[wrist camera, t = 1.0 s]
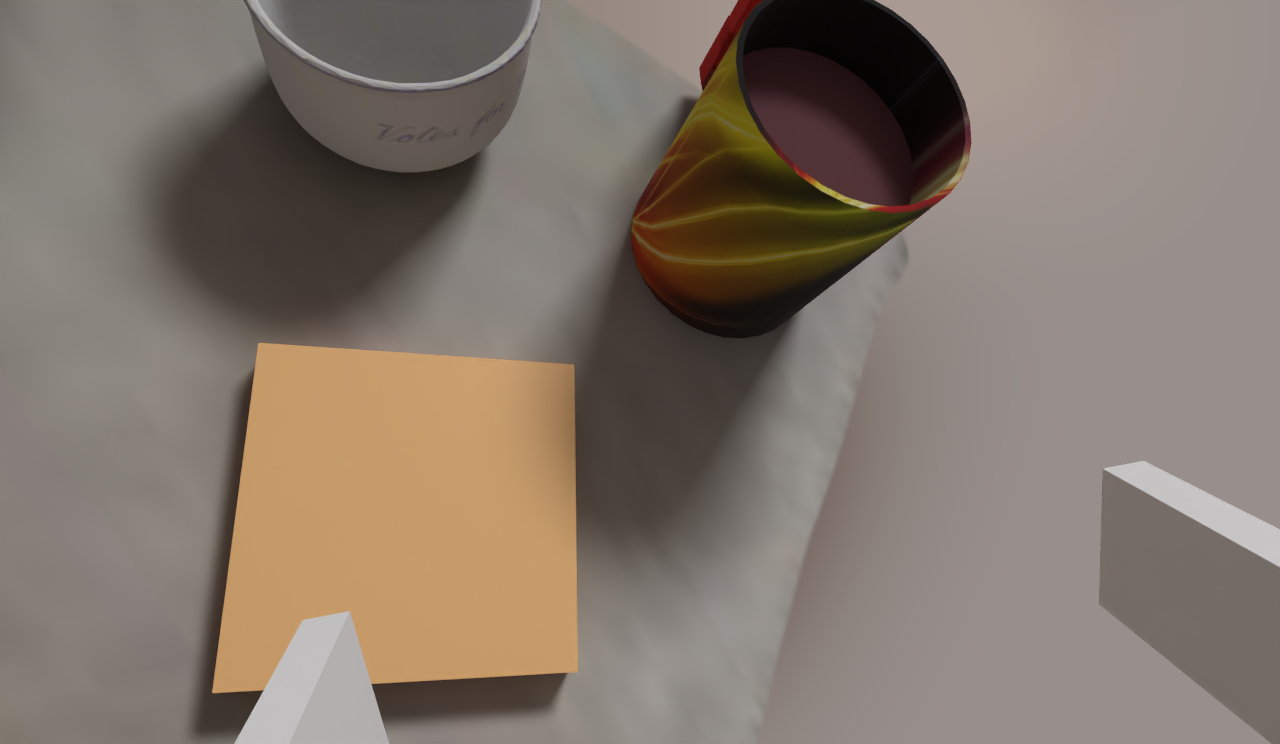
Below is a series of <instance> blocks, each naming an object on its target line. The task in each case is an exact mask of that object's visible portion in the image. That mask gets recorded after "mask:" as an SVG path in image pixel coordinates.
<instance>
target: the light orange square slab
mask: <svg viewBox="0 0 1280 744" xmlns="http://www.w3.org/2000/svg"><path fill="white" fill-rule="evenodd" d="M347 611H350V613H351V617H352V620H353V624H354V627H355V630H356V634H357V637H358V641H359V644H360V647H361V651H362V654H363V657H364V661H365V664H366V668H367V671H368V674H369V678H370V681H371V684H380V683H397V682H414V681H431V680H449V679H466V678H483V677H500V676H517V675H535V674H552V673H569V672H578V645H577V551H576V457H575V365H574V364H560V363H545V362H531V361H516V360H502V359H487V358H473V357H458V356H443V355H429V354H414V353H400V352H385V351H371V350H356V349H342V348H327V347H312V346H298V345H283V344H269V343H258V349H257V357H256V364H255V372H254V379H253V387H252V394H251V402H250V410H249V417H248V425H247V432H246V440H245V447H244V455H243V463H242V470H241V478H240V485H239V493H238V501H237V508H236V516H235V523H234V531H233V538H232V546H231V554H230V561H229V569H228V576H227V584H226V591H225V599H224V607H223V614H222V622H221V629H220V637H219V645H218V652H217V660H216V667H215V675H214V682H213V690H212V693H225V692H242V691H259V690H264V689H265V687H266V685H267V684H268V682H269V680H270V678H271V676H272V675H273V673H274V671H275V669H276V667H277V666H278V664H279V662H280V660H281V658H282V657H283V655H284V653H285V651H286V649H287V647H288V646H289V644H290V642H291V640H292V638H293V637H294V635H295V633H296V631H297V629H298V628H299V626H300V624H301V622H302V620H305V619H310V618H316V617H321V616H326V615H331V614H337V613H342V612H347Z"/></svg>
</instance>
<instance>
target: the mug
mask: <svg viewBox="0 0 1280 744" xmlns="http://www.w3.org/2000/svg"><path fill="white" fill-rule="evenodd" d="M700 78H701V85H702V90H703V92H702V94H701V96H700V97H699V99H698V101H697V102H696V104H695V106H694V108H693V109H692V111H691V113H690V114H689V116H688V118H687V119H686V121H685V123H684V124H683V126H682V128H681V130H680V131H679V133H678V135H677V136H676V138H675V140H674V141H673V143H672V145H671V147H670V148H669V150H668V152H667V153H666V155H665V157H664V158H663V160H662V162H661V163H660V165H659V167H658V169H657V170H656V172H655V174H654V175H653V177H652V179H651V180H650V182H649V184H648V186H647V187H646V189H645V191H644V192H643V194H642V196H641V197H640V199H639V201H638V204H637V206H636V209H635V212H634V214H633V221H632V228H631V237H632V249H633V253H634V256H635V260H636V263H637V267H638V269H639V271H640V273H641V275H642V277H643V279H644V281H645V283H646V285H647V286H648V287H649V289H650V290H651V291H652V293H653V294H654V295H655V297H656V298H657V300H658V301H659V302H660V303H662V304H663V305H664V306H665V307H666V308H667V309H668V310H669V311H670V312H671V313H672V314H673V315H675V316H676V317H678V318H679V319H681V320H682V321H684V322H685V323H687V324H688V325H690V326H692V327H695V328H697V329H699V330H701V331H704V332H706V333H709V334H713V335H717V336H722V337H730V338H746V337H752V336H758V335H761V334H764V333H766V332H769V331H771V330H774V329H775V328H777V327H778V326H779V325H781V324H782V323H784V322H785V321H786V320H788V319H789V318H790V317H792V316H793V315H794V314H795V313H797V312H798V311H799V310H801V309H802V308H803V307H804V306H806V305H807V304H808V303H810V302H811V301H812V300H813V299H815V298H816V297H817V296H819V295H820V294H821V293H822V292H824V291H825V290H826V289H828V288H829V287H830V286H831V285H833V284H834V283H835V282H837V281H838V280H839V279H840V278H842V277H843V276H844V275H846V274H847V273H848V272H849V271H851V270H852V269H853V268H855V267H856V266H857V265H858V264H860V263H861V262H862V261H863V260H865V259H866V258H867V257H869V256H870V255H871V254H872V253H874V252H875V251H876V250H878V249H879V248H880V247H881V246H883V245H884V244H885V243H887V242H888V241H889V240H890V239H892V238H893V237H894V236H896V235H897V234H898V233H899V232H901V231H902V230H903V229H905V228H906V227H907V226H908V225H910V224H911V223H912V222H914V221H915V220H916V219H917V218H919V217H920V216H921V215H923V214H924V213H925V212H926V211H927V210H929V209H930V208H931V207H933V206H934V205H935V204H937V203H938V202H939V201H941V200H942V199H943V198H944V197H946V196H947V195H948V194H949V193H950V192H951V191H952V190H953V188H954V187H955V186H956V185H957V184H958V182H959V181H960V180H961V178H962V175H963V173H964V171H965V168H966V166H967V163H968V160H969V154H970V148H971V132H970V131H971V130H970V120H969V116H968V112H967V108H966V104H965V101H964V98H963V96H962V93H961V91H960V89H959V86H958V84H957V82H956V80H955V78H954V76H953V75H952V73H951V71H950V70H949V68H948V66H947V65H946V63H945V62H944V60H943V59H942V57H941V56H940V55H939V54H938V52H937V51H936V50H935V49H934V48H933V46H932V45H931V44H930V43H929V41H928V40H927V39H926V38H925V37H923V36H922V35H921V34H920V33H919V32H918V31H917V30H916V29H915V28H914V27H913V26H912V25H911V24H910V23H908V22H907V21H906V20H904V19H903V18H902V17H900V16H899V15H897V14H896V13H895V12H894V11H892V10H891V9H889V8H887V7H885V6H884V5H882V4H880V3H878V2H876V1H874V0H738V2H737V4H736V6H735V7H734V9H733V11H732V13H731V15H730V16H728V18H727V19H726V21H725V23H724V25H723V27H722V28H721V31H720V32H719V34H718V35H717V37H716V39H715V41H714V43H713V44H712V46H711V48H710V50H709V52H708V53H707V55H706V57H705V59H704V61H703V63H702V64H701V66H700Z"/></svg>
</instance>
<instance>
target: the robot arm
mask: <svg viewBox="0 0 1280 744" xmlns="http://www.w3.org/2000/svg"><path fill="white" fill-rule="evenodd" d="M1100 554H1101V555H1100V588H1099V604H1100V605H1101V606H1102V607H1104V608H1105V609H1106V610H1107V611H1108V612H1109V613H1111V614H1112V615H1113V616H1115V617H1116V618H1117V619H1118V620H1119V621H1121V622H1122V623H1123V624H1124V625H1126V626H1127V627H1128V628H1129V629H1131V630H1132V631H1133V632H1134V633H1135V634H1137V635H1138V636H1139V637H1140V638H1142V639H1143V640H1144V641H1145V642H1147V643H1148V644H1149V645H1150V646H1152V647H1153V648H1154V649H1155V650H1156V651H1158V652H1159V653H1160V654H1161V655H1163V656H1164V657H1165V658H1166V659H1168V660H1169V661H1170V662H1171V663H1173V664H1174V665H1175V666H1176V667H1178V668H1179V669H1180V670H1181V671H1183V672H1184V673H1185V674H1186V675H1187V676H1189V677H1190V678H1191V679H1192V680H1193V681H1195V682H1196V683H1197V684H1198V685H1200V686H1201V687H1202V688H1203V689H1205V690H1206V691H1207V692H1208V693H1210V694H1211V695H1212V696H1213V697H1214V698H1216V699H1217V700H1218V701H1219V702H1221V703H1222V704H1223V705H1224V706H1226V707H1227V708H1228V709H1230V710H1231V711H1232V712H1233V713H1234V714H1236V715H1237V716H1238V717H1239V718H1240V719H1242V720H1243V721H1244V722H1245V723H1247V724H1248V725H1249V726H1250V727H1252V728H1253V729H1254V730H1255V731H1256V732H1258V733H1259V734H1260V735H1261V736H1263V737H1264V738H1265V739H1266V740H1268V741H1269V742H1270V743H1272V744H1280V529H1278V528H1275V527H1274V526H1272V525H1270V524H1268V523H1266V522H1264V521H1262V520H1260V519H1258V518H1256V517H1254V516H1252V515H1250V514H1248V513H1246V512H1244V511H1242V510H1240V509H1238V508H1236V507H1234V506H1232V505H1230V504H1228V503H1226V502H1224V501H1222V500H1220V499H1218V498H1216V497H1214V496H1212V495H1210V494H1208V493H1206V492H1204V491H1202V490H1200V489H1198V488H1196V487H1194V486H1193V485H1191V484H1188V483H1186V482H1185V481H1183V480H1180V479H1179V478H1177V477H1175V476H1173V475H1170V474H1168V473H1167V472H1165V471H1163V470H1161V469H1159V468H1157V467H1155V466H1153V465H1151V464H1148V463H1147V462H1145V461H1141V462H1135V463H1130V464H1125V465H1119V466H1114V467H1109V468H1103V480H1102V516H1101V551H1100ZM234 744H389V742H388V739H387V736H386V732H385V729H384V725H383V722H382V719H381V715H380V712H379V708H378V705H377V702H376V698H375V695H374V691H373V688H372V685H371V681H370V678H369V674H368V671H367V668H366V664H365V661H364V657H363V654H362V651H361V647H360V644H359V641H358V637H357V634H356V630H355V627H354V624H353V620H352V617H351V613H350V611H347V612H342V613H337V614H331V615H326V616H321V617H316V618H310V619H305V620H302V622H301V624H300V626H299V628H298V629H297V631H296V633H295V635H294V637H293V638H292V640H291V642H290V644H289V646H288V647H287V649H286V651H285V653H284V655H283V657H282V658H281V660H280V662H279V664H278V666H277V667H276V669H275V671H274V673H273V675H272V676H271V678H270V680H269V682H268V684H267V685H266V687H265V689H264V691H263V693H262V695H261V696H260V698H259V700H258V702H257V704H256V705H255V707H254V709H253V711H252V713H251V714H250V716H249V718H248V720H247V722H246V723H245V725H244V727H243V729H242V731H241V733H240V734H239V736H238V738H237V740H236V742H235V743H234Z"/></svg>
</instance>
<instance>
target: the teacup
mask: <svg viewBox="0 0 1280 744" xmlns="http://www.w3.org/2000/svg"><path fill="white" fill-rule="evenodd" d="M244 2H245V3H246V5H247V7H248V9H249V11H250V14H251V18H252V21H253V25H254V29H255V32H256V35H257V38H258V42H259V45H260V48H261V51H262V54H263V57H264V60H265V63H266V66H267V69H268V72H269V74H270V77H271V79H272V81H273V84H274V86H275V88H276V90H277V92H278V94H279V96H280V98H281V99H282V101H283V103H284V104H285V106H286V107H287V109H288V110H289V112H290V113H291V114H292V116H293V117H294V118H295V119H296V120H297V122H298V123H299V124H300V125H301V126H302V127H303V128H304V129H305V130H306V131H307V132H308V133H309V134H310V135H311V136H312V137H314V138H315V139H316V140H317V141H318V142H320V143H321V144H322V145H324V146H325V147H327V148H328V149H330V150H332V151H333V152H335V153H337V154H338V155H340V156H342V157H344V158H346V159H349V160H351V161H353V162H356V163H358V164H361V165H364V166H368V167H371V168H376V169H381V170H385V171H392V172H425V171H432V170H438V169H442V168H445V167H449V166H452V165H455V164H457V163H460V162H462V161H464V160H466V159H468V158H470V157H472V156H473V155H475V154H476V153H478V152H479V151H481V150H482V149H484V148H485V147H486V146H487V145H489V144H490V143H491V142H492V141H493V140H494V138H495V137H496V136H497V135H498V134H499V133H500V132H501V130H502V129H503V128H504V126H505V125H506V123H507V122H508V120H509V119H510V117H511V115H512V112H513V110H514V108H515V106H516V104H517V101H518V98H519V94H520V91H521V87H522V84H523V80H524V76H525V72H526V67H527V62H528V57H529V52H530V46H531V40H532V35H533V33H534V31H535V28H536V25H537V22H538V18H539V14H540V8H541V3H542V0H244Z"/></svg>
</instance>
